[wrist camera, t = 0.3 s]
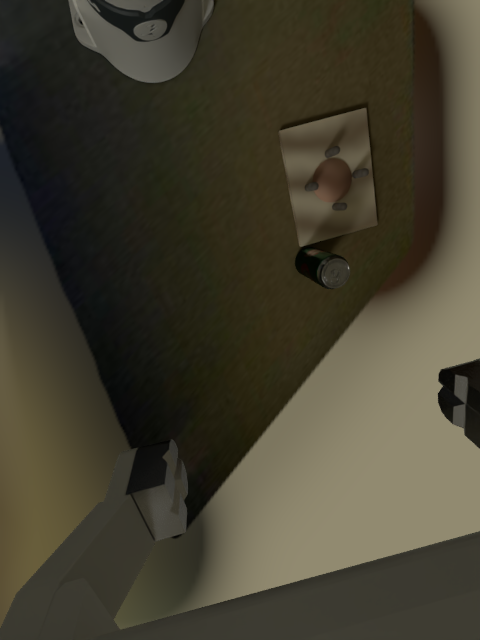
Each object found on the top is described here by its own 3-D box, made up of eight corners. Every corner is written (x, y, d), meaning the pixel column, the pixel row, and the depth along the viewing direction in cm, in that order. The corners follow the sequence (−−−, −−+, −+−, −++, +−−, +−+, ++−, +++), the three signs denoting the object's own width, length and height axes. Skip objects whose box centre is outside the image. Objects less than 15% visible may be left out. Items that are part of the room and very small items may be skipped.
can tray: (278, 132, 50) (286, 124, 45) (362, 109, 50) (378, 100, 46) (299, 246, 56) (308, 249, 52) (374, 224, 56) (389, 225, 52)
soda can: (323, 247, 56) (355, 256, 45) (319, 275, 58) (349, 291, 47) (295, 246, 56) (321, 255, 45) (292, 274, 57) (316, 290, 46)
